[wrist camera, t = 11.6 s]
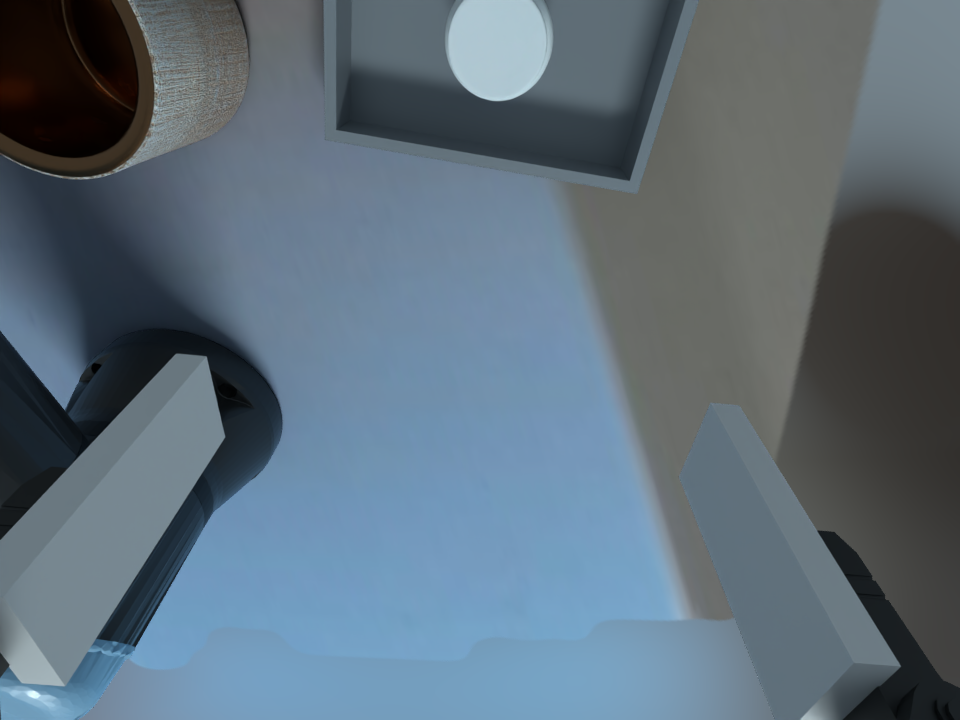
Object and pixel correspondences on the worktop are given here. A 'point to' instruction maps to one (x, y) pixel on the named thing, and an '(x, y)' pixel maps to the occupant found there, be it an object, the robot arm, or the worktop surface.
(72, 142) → the planter
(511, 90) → the pill bottle
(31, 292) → the worktop surface
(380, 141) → the grey tray
